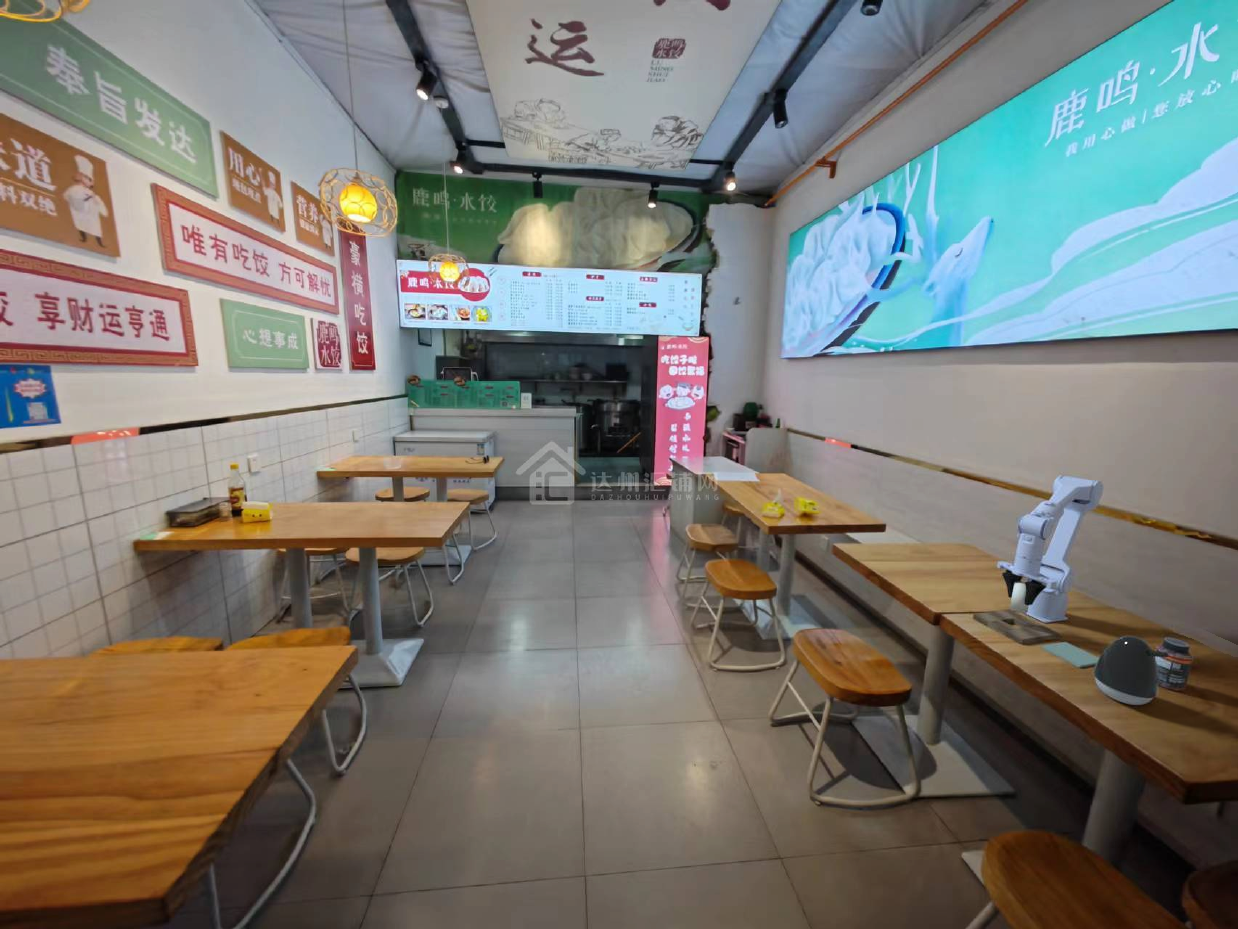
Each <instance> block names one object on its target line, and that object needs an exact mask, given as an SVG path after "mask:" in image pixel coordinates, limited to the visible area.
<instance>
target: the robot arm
mask: <svg viewBox="0 0 1238 929" xmlns="http://www.w3.org/2000/svg"><path fill="white" fill-rule="evenodd" d="M1052 491H1053V494H1052V496H1050V498H1049V500H1044V501H1042V502H1040V503H1039V504H1038V505H1037V506H1036V507H1035V508H1034V509H1033V510H1032V511H1031V512H1030V513H1027V514H1023V515H1022V516H1020V518H1019V519H1018V522H1017V525H1016V531H1017V534H1016V538H1017V539H1018V543H1017V547H1016V551H1015V558H1014V561H1013V562H1014V563H1010V562H1007V561H1004V560H1000V561H997V564H996V568H997V569H1001V570H1005V572H1002V574H1001V575H1002V577H1003V580H1004V581H1005V584H1006V590H1007V596H1008V598H1010V599H1011V598H1012V593H1013V588H1014V582H1015V581H1021V582H1022V579H1023V578H1024V579H1025V580H1026V581H1024V582H1025V585H1026V596H1025V605H1029V607H1028V612H1027V613H1024V614H1025V615H1027V616H1029V617H1031V618H1034V619H1036V620H1038V621H1040V622H1042V623H1045V624H1047V623H1053V622H1060V621H1066V620H1068V619H1069V618H1068V617H1066V612H1067V608H1068V602H1069V596H1068V594H1067V593H1068V592H1070V590H1071V588H1072V587H1073V582H1074V578H1075V571H1074V569H1073V568H1072V567H1071V565H1070V564H1069V563H1068V562H1067V559H1068V557H1069V555H1070V552H1071V550H1072V547H1073V546H1074V542H1075V540H1076V537H1077V535H1078V533H1079V530H1080V528H1081V525H1082V522H1083V521H1084V518H1085V516H1086V515H1087V513H1088V512H1090V511H1094V510H1096V509H1097V507H1098V505H1099V503H1100V501H1101V498H1102V495H1103V492H1104V484H1103V482H1102V481H1101V480H1092V479H1086V478H1080V477H1073V476H1068V475H1063V474H1060V475H1059V476H1057V477H1056V478H1055V479H1054V482H1053V485H1052ZM1056 523H1057V526H1056ZM1055 526H1056V529H1055ZM1054 529H1055V531H1054ZM1053 531H1054V534H1053V536H1052V533H1053ZM1051 536H1052V539H1051V540H1050V543H1049V546H1048V547H1047V551H1046V554H1045V555H1044V553H1045V547H1046V543H1047V539H1049V538H1050V537H1051Z"/></svg>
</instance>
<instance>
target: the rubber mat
mask: <svg viewBox="0 0 1238 929" xmlns="http://www.w3.org/2000/svg"><path fill="white" fill-rule="evenodd" d="M1040 649H1042V650H1043V651H1046V652H1048V653H1050V654H1052V655H1053V656H1056V657H1057V658H1060V659H1061V660H1063V661H1066V662H1067V663H1069V664H1071V665H1073V666H1076V667H1077V668H1079V669H1081V668H1086V667H1090V666H1096V663H1097V661H1098V659H1099V658H1100V657H1098V656H1097V655H1094V654H1091V653H1089V652H1087V651H1085V650H1084V649H1081V648H1079V647H1077V646H1075V645H1074V644H1073V645H1072V644H1071V643H1069V642H1067V641H1064V642H1056V643H1050V644H1045V645H1041V646H1040Z"/></svg>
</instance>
